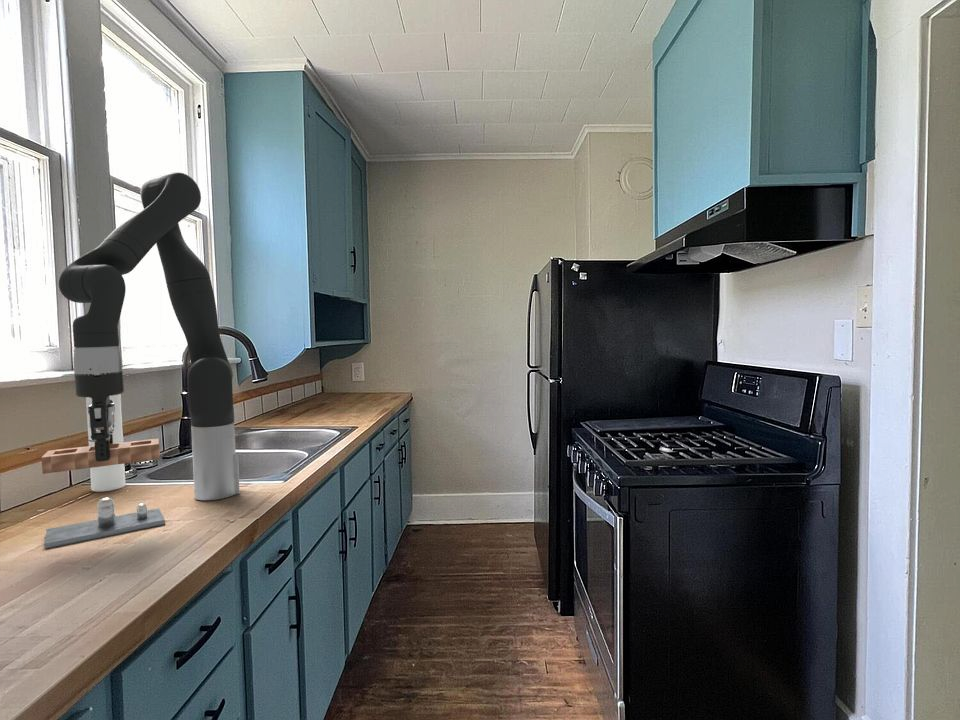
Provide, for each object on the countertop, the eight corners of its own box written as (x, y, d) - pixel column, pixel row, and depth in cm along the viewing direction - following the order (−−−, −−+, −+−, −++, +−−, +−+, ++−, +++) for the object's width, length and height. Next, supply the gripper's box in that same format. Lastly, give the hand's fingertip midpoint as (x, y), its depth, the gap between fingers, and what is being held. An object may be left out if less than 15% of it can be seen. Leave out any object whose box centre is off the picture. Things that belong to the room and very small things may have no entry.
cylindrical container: (102, 483, 139) (97, 388, 137) (131, 482, 140) (126, 387, 138) (84, 492, 132) (78, 391, 130) (115, 491, 132) (109, 390, 131)
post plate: (159, 512, 116) (157, 483, 116) (165, 524, 109) (163, 493, 109) (46, 534, 105) (44, 502, 104) (45, 548, 98) (43, 514, 97)
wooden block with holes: (42, 473, 96) (41, 457, 96) (49, 466, 101) (48, 450, 101) (159, 459, 105) (158, 444, 105) (159, 452, 110) (158, 438, 110)
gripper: (79, 369, 106) (86, 452, 107) (68, 374, 94) (75, 468, 95) (124, 367, 110) (130, 447, 111) (119, 371, 98) (125, 461, 99)
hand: (105, 456), depth 103 cm, fingers closed on wooden block with holes, 6 cm apart
